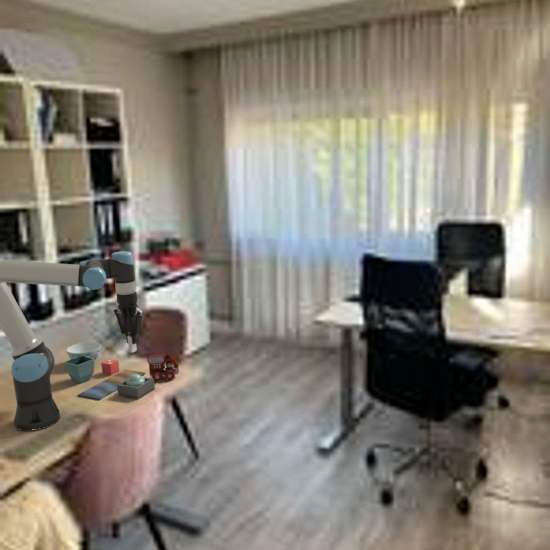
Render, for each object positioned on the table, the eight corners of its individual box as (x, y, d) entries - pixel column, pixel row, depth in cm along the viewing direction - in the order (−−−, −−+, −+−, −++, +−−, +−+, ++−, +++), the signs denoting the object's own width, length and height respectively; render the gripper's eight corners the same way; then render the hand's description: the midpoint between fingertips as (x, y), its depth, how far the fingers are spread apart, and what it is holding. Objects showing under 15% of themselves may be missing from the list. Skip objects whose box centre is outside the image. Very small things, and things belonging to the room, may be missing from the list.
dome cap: (137, 391, 223) (136, 378, 221) (123, 388, 226) (121, 376, 225) (148, 384, 229) (147, 372, 228) (134, 381, 232) (133, 370, 231)
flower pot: (79, 386, 237) (76, 365, 235) (66, 381, 242) (63, 361, 240) (97, 379, 243) (94, 358, 242) (84, 374, 249) (82, 355, 247)
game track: (99, 400, 222) (99, 398, 222) (77, 396, 227) (77, 394, 227) (145, 373, 246) (145, 372, 246) (125, 370, 251) (125, 369, 251)
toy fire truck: (179, 379, 239) (177, 355, 236) (148, 383, 237) (146, 359, 234) (179, 373, 245) (177, 350, 243) (149, 376, 243) (147, 353, 241)
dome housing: (138, 399, 221) (137, 388, 220) (118, 395, 225) (116, 384, 224) (154, 389, 230) (153, 378, 229) (134, 385, 234) (133, 375, 233)
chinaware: (71, 372, 252) (69, 355, 251) (65, 362, 265) (63, 346, 264) (106, 364, 259) (104, 348, 258) (99, 355, 272) (97, 339, 271)
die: (111, 375, 246) (110, 364, 245) (102, 374, 249) (101, 362, 248) (119, 371, 251) (118, 360, 250) (110, 369, 253) (109, 358, 252)
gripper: (146, 290, 220) (152, 349, 225) (119, 288, 225) (126, 346, 230) (133, 295, 213) (140, 356, 218) (106, 293, 219) (113, 352, 224)
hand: (133, 351), depth 224 cm, fingers closed
